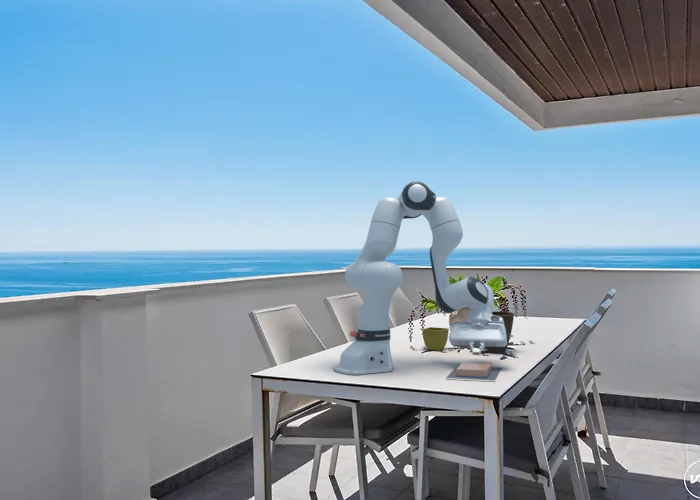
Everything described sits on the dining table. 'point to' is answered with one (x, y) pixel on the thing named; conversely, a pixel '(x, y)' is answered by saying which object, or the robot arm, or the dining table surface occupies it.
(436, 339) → the flower pot
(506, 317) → the plant pot
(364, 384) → the dining table surface
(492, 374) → the charcoal mat
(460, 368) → the upright blue panel
